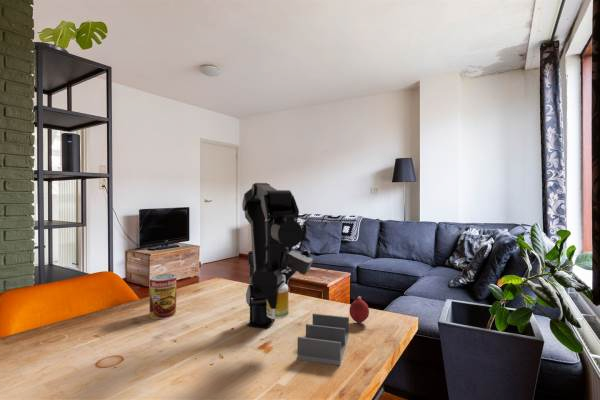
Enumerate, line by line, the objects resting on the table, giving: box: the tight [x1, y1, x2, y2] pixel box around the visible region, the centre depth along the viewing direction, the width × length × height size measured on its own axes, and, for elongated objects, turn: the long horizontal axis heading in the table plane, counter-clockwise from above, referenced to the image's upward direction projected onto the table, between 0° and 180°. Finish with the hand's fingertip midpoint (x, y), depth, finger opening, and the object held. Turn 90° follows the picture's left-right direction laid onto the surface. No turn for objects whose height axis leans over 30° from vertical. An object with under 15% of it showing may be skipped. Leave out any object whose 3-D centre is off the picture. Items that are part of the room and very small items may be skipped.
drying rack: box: [296, 313, 350, 366], centre depth 79 cm, size 10×16×5 cm, turn 164°
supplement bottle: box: [267, 275, 290, 320], centre depth 77 cm, size 5×5×10 cm
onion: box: [348, 296, 370, 325], centre depth 94 cm, size 6×6×8 cm
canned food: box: [148, 273, 177, 320], centre depth 100 cm, size 8×8×12 cm
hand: (277, 304), depth 77 cm, fingers closed on supplement bottle, 5 cm apart
